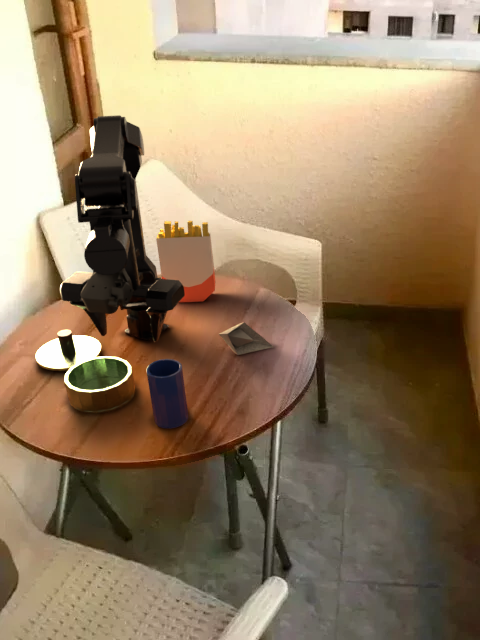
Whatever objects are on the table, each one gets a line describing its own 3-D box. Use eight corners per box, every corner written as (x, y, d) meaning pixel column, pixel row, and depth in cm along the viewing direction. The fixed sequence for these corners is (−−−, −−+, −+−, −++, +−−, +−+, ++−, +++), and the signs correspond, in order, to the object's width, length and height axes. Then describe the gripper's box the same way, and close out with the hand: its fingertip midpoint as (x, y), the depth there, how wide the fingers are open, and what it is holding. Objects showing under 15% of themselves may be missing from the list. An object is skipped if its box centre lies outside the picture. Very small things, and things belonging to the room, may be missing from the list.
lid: (71, 334, 145) (66, 311, 142) (115, 350, 140) (111, 327, 137) (23, 362, 136) (16, 338, 134) (67, 380, 131) (61, 356, 128)
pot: (103, 371, 134) (99, 350, 131) (148, 388, 129) (145, 367, 126) (55, 401, 126) (50, 379, 123) (102, 421, 121) (97, 399, 118)
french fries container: (167, 293, 160) (156, 215, 150) (216, 291, 161) (209, 213, 151) (165, 303, 156) (154, 224, 146) (215, 300, 157) (208, 221, 147)
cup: (170, 405, 124) (162, 355, 119) (195, 414, 122) (189, 364, 116) (147, 421, 120) (138, 371, 115) (173, 432, 118) (165, 381, 112)
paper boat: (255, 326, 145) (287, 330, 138) (249, 358, 144) (281, 363, 138) (209, 314, 136) (241, 317, 130) (202, 348, 136) (234, 352, 129)
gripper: (30, 264, 105) (52, 356, 113) (150, 274, 101) (163, 369, 110) (69, 236, 114) (87, 323, 123) (180, 245, 111) (190, 334, 119)
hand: (130, 337), depth 118 cm, fingers open, 9 cm apart
